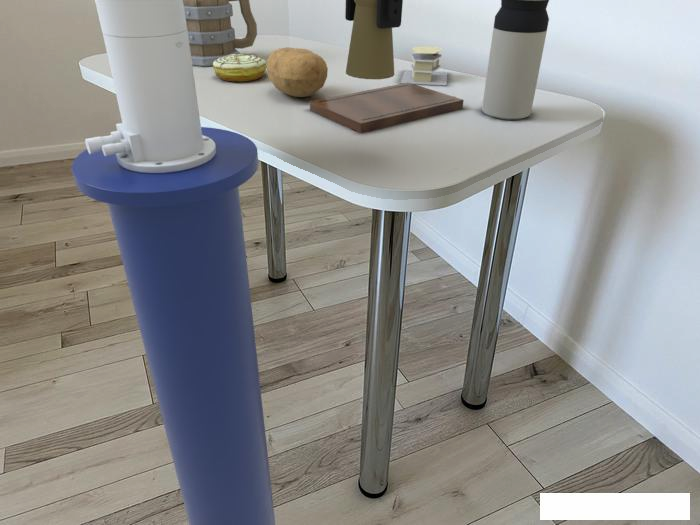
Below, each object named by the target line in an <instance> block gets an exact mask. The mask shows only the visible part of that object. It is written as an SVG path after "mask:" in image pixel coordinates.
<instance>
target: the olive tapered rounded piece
mask: <svg viewBox="0 0 700 525" xmlns="http://www.w3.org/2000/svg"><path fill="white" fill-rule="evenodd" d="M354 1H355V3H356V8H355V14H354V21H352V28H351V29H352V30H351V34H350V41H349V42H350V43H349V48H348V53H347V60H346V61H347V62H346V67H345V74H346V75H347V76H349V77H352V78H356V79H361V80H384V79H385V80H387V79H390V78H393V77H394V76H395V59H394V58H395V57H394V39H393V38H394V37H393V36H394V35H393V28H385V29H381V28H378V27H377V5H378V0H354Z"/></svg>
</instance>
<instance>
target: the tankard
mask: <svg viewBox="0 0 700 525" xmlns="http://www.w3.org/2000/svg"><path fill="white" fill-rule="evenodd" d="M231 2H239V9H240V13H241V15H242V18H243V21H244V22H245V25H246V35H245V37H243V38H236V30H235V28H234V27H232V21H231V18H232V17H233V16H234V12H233V4H232V3H231ZM183 5H184V11H185V18H186V25H187V30H188V38H189V45H190V52H191V59H192V66H195V67H196V66H197V67H213V62H214V61H215V60H216V59H218V58H221V57H224V56H227V55H231V54H241V52H240V51H239V50H238V49H242V50H243V49H246V48H250V47H253V45H254V43H255V40H256V38H257V36H258V25H257V22H256V18H255V17H254V14H253V12H252V8H251V3H250V0H183Z"/></svg>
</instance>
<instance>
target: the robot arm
mask: <svg viewBox="0 0 700 525" xmlns="http://www.w3.org/2000/svg"><path fill="white" fill-rule="evenodd" d="M403 3H404V0H378V5H377V27H378V28H381V29H385V28H392V29H394V28H400V27H401V25H402V18H403V16H402V15H403ZM94 4H95V7H96V12H97V15H98V20H99V24H100V29H101V33H102V36H103V37H102V38H103V41H104V46H105V50H106V56H107V59H108V64H109V69H110V73H111V76H112V77H111V78H112V82H113V87H114V92H115V96H116V100H117V106H118V109H119V110H118V111H119V114H120V115H119V116H120V118H121V122H119V123H116V124H115V126H116V130H114V131H110V135H104V136H101V135H100V136H99V135H98V136H93V137H89V138H85V139H84V143H85V147H86V149H87V150H88V152H89V154H95V153H100V152H103V154H104V156H110V155H115V154H116V155H117V160H118V163H119V164H120V165H121V166H122V167H124V168H126V169H128V170H131V171H135V172H141V173H171V172H178V171H183V170H187V169H191V168H194V167H198V166H200V165H202V164H205V163H206V162H208V161H210V160H211V159H212V158H213V157H214V156H215V154H216V145H215V142H214V141H213V140H212V139H210V138H209V137H206V136H204V135H202V130H201V127H202V124H201V116H200V110H199V102H198V96H197V88H196V87H197V86H196V80H195V74H194V67H193V66H194V65H192V59H191V52H190V45H189V38H188V30H187V25H186V18H185V11H184V5H183V0H94ZM355 8H356V3H355V1H354V0H345V11H344V12H345V13H344V19H345V20H346V21H348V22H353V21H354V14H355Z"/></svg>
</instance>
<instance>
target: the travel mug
mask: <svg viewBox="0 0 700 525" xmlns="http://www.w3.org/2000/svg"><path fill="white" fill-rule="evenodd" d="M500 2H501V3H500V8H498V11H497V12H496V14H495V15H494V22H493V29H492V34H491V43H490V49H489V57H488V63H487V72H486V78H485V85H484V90H483V91H484V92H483V98H482V105H481V112H483V113H484V114H486V115H487V116H488V117H492V118H496V119H499V120H513V121H514V120H522V119H525V118H527V117H529V116H531V115H532V110H533V105H534V99H535V94H536V90H537V85H538V79H539V73H540V68H541V63H542V58H543V53H544V48H545V43H546V37H547V32H548V26H549V21H550V18H549V15H548V14H549V13H548V11H547V7H548V4H549V2H550V0H500Z"/></svg>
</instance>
